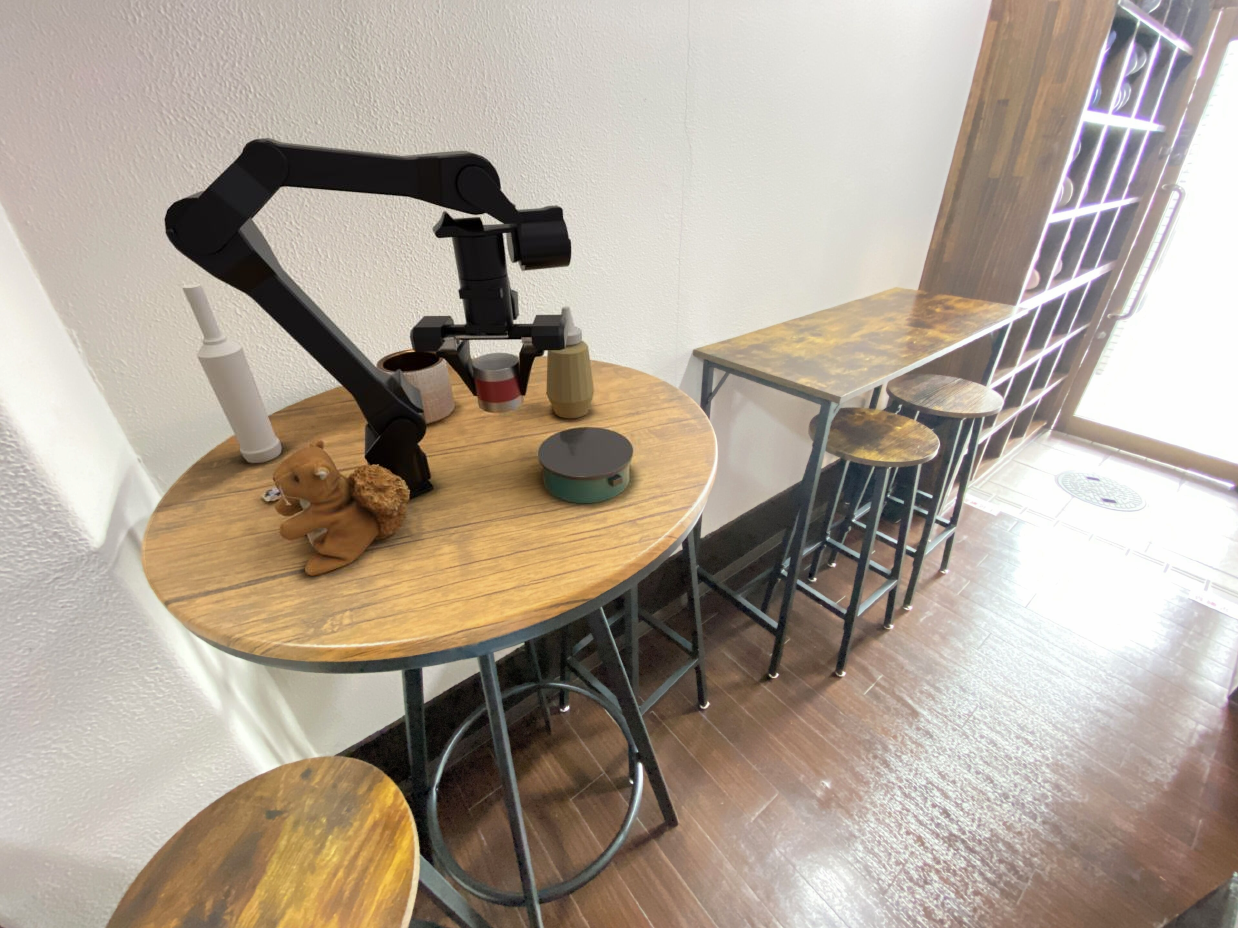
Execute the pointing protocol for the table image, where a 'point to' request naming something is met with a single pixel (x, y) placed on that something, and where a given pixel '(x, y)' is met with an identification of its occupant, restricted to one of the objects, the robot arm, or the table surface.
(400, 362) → the planter
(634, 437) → the table surface
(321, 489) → the stuffed squirrel
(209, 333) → the bottle
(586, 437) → the round lidded tin
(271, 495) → the granola bar
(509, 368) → the can
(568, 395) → the squeeze bottle
